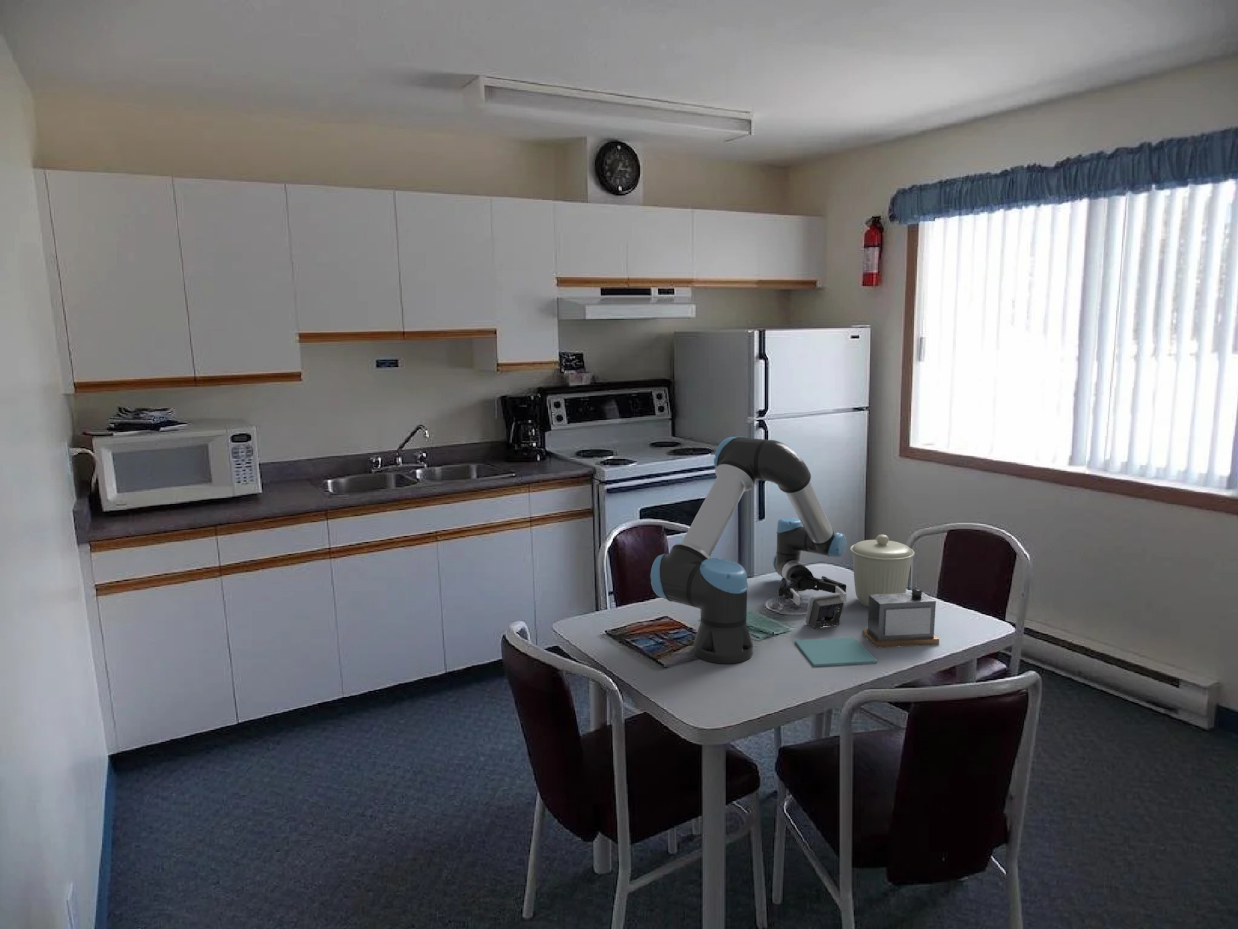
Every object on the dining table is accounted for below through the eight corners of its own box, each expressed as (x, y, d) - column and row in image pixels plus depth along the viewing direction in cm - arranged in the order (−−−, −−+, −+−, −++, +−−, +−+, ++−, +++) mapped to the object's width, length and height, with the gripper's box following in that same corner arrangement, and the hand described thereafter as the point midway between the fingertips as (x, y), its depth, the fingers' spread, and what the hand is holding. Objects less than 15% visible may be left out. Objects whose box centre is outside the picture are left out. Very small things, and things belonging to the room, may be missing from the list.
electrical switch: (833, 620, 226) (836, 589, 223) (844, 628, 221) (847, 597, 219) (804, 624, 223) (807, 594, 220) (814, 633, 218) (817, 601, 216)
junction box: (875, 647, 206) (878, 597, 204) (862, 634, 215) (864, 586, 213) (938, 644, 208) (941, 594, 205) (922, 631, 217) (925, 583, 214)
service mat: (813, 666, 196) (814, 664, 196) (794, 642, 210) (794, 640, 210) (877, 663, 197) (877, 660, 197) (853, 639, 212) (853, 637, 212)
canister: (869, 617, 228) (873, 545, 224) (836, 596, 245) (838, 529, 241) (924, 610, 232) (928, 540, 229) (888, 590, 249) (891, 525, 246)
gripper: (836, 585, 248) (863, 609, 228) (757, 589, 246) (778, 614, 225) (837, 562, 247) (864, 584, 226) (758, 566, 245) (778, 588, 224)
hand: (821, 599), depth 226 cm, fingers open, 13 cm apart
